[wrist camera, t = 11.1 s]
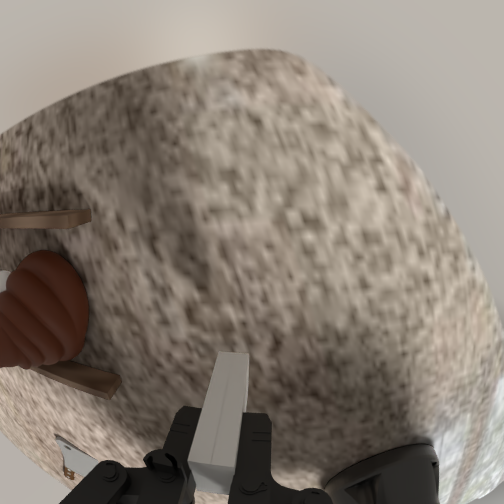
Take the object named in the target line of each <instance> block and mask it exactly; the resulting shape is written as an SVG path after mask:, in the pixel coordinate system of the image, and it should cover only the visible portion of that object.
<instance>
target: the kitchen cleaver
mask: <svg viewBox="0 0 504 504" xmlns="http://www.w3.org/2000/svg"><path fill="white" fill-rule="evenodd" d="M55 440H56V442H57V444H58V445H59V447H60V449H61V451H62V453H63V456H64V460H65V467H64V475H65V477H67V478H69V479H71V480H74V478H75V477H74V473H77V474H79V475H81V476H83V477H85V476H86V475H87V474H88V473H89V472H90V471H91V470H92V469H93V468H94V467H95V466H96V465H97V464H98V460H96V459H95V458H93V457H91V456H90V455H88V454H86V453H85V452H83V451H81V450H80V449H78V448H77V447H75V446H74V445H72V444H71V443H69V442H68V441H66V440H65V439H63V438H62V437H58V436H57V437H56V439H55Z"/></svg>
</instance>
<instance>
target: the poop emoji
mask: <svg viewBox="0 0 504 504" xmlns="http://www.w3.org/2000/svg"><path fill="white" fill-rule="evenodd" d="M88 321H89V304H88V298H87V294H86V291H85V288H84V285H83V283H82V281H81V279H80V277H79V275H78V274H77V272H76V271H75V270H74V268H73V267H72V266H71V265H70V264H69V263H68V262H67V261H66V260H65V259H64V258H63V257H61V256H60V255H58V254H56V253H54V252H52V251H48V250H40V251H36V252H33V253H31V254H30V255H28V256H27V257H26V258H24V259H23V260H22V262H21V263H20V264H19V265H18V267H17V269H16V270H15V271H13V272H10V271H7V270H2V271H0V368H2V367H14V366H20V367H21V368H23V369H30V367H39V366H41V365H42V364H44V365H52V364H55V363H57V362H58V361H67V360H71V359H73V358H75V357H76V356H77V355H78V354H79V353H80V352H81V351H82V349H83V347H84V344H85V334H86V331H87V327H88Z"/></svg>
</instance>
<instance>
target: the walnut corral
mask: <svg viewBox="0 0 504 504" xmlns="http://www.w3.org/2000/svg"><path fill="white" fill-rule="evenodd" d="M90 221H91V210H90V209H86V210H59V211H39V212H22V213H8V214H0V228H48V229H69V228H72V227H75V226H78V225H81V224H84V223H87V222H90ZM30 369H31V370H33V371H35V372H37V373H40V374H42V375H44V376H46V377H48V378H51V379H53V380H55V381H58V382H60V383H63V384H65V385H68V386H70V387H73V388H75V389H78V390H81V391H84V392H86V393H89V394H92V395H95V396H98V397H101V398H104V399H107V400H110V399H111V398H112V396H113V395H114V393H115V392H116V390H117V389H118V387H119V385H120V384H121V382H122V381H121V378H120V375H117V374H113V373H109V372H105V371H102V370H98V369H95V368H91V367H88V366H85V365H82V364H78V363H75V362H72V361H69V360H67V361H58V362H57V363H55V364H52V365H44V364H42V365H41V366H39V367H30Z"/></svg>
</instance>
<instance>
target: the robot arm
mask: <svg viewBox="0 0 504 504" xmlns="http://www.w3.org/2000/svg"><path fill="white" fill-rule="evenodd" d="M248 376H249V354H248V353H234V352H222V351H219V352H218V356H217V359H216V363H215V366H214V370H213V373H212V377H211V380H210V384H209V387H208V390H207V394H206V397H205V401H204V404H203V408H195V407H188V406H183V407H182V408H181V409H180V410H179V411H178V412H177V413H176V415H175V418H174V420H173V424H172V425H171V428H170V431H169V433H168V436H167V439H166V441H165V444H164V447H163V449H158V450H154V451H151V452H150V453H148V454H146V456H145V457H144V458H143V461H144V462H145V464H146V466H147V467H143V468H127V467H124V466H122V465H121V464H120V463H118V462H116V461H113V460H106V461H102V462H100V463H98V464H97V465H96V466H95V467H94V468H93V469H92V470H91V471H90V472H89V473H88V474H87V475H86V476H85V477H84V479H83V480H82V481H81V482H80V483H79V484H78V485H77V486H76V487H75V488H74V489H73V490H72V491H71V492H70V493H69V494H68V495H67V496H66V497H65V498H64V499H63V500H62V501H61V502H60V503H59V504H195V498H194V492H195V488H196V489H197V491H203V492H210V493H217V494H225V495H229V499H228V504H440V502H439V498H438V494H439V460H438V457H437V455H436V453H435V450H434V448H433V447H432V446H430V445H427V444H416V445H410V446H405V447H401V448H397V449H394V450H391V451H388V452H385V453H382V454H379V455H376V456H374V457H371V458H369V459H367V460H364V461H362V462H360V463H358V464H356V465H353V466H352V467H350V468H348V469H346V470H344V471H342V472H341V473H339V474H338V475H336V476H335V477H334V478H332V479H331V480H330V481H329V482H328V483H327V485H326V487H325V491H323V490H321V489H317V488H307V489H304V490H301V491H298V490H294V489H290V488H286V487H284V486H281V485H280V484H278V483H277V482H276V481H275V480H274V479H273V477H272V475H271V429H272V422H271V421H270V419H269V417H268V415H267V414H264V413H246V405H247V397H248Z"/></svg>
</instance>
